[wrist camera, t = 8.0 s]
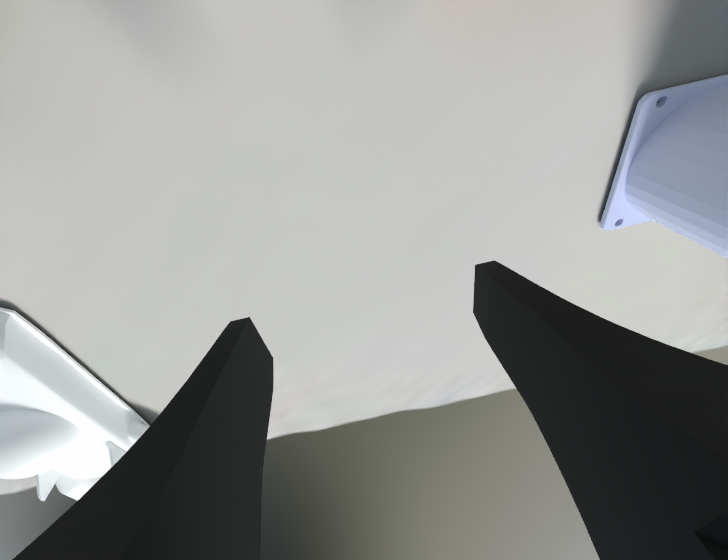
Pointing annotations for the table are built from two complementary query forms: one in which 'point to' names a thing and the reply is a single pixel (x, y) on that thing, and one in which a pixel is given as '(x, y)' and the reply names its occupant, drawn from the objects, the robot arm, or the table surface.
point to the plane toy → (56, 414)
